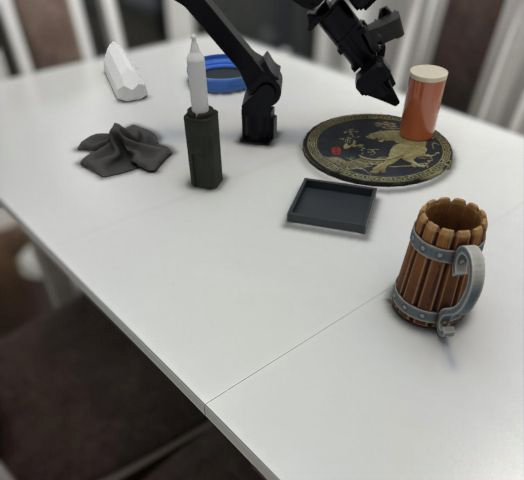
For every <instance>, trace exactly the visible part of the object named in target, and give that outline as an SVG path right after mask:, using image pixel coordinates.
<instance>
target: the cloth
mask: <svg viewBox="0 0 524 480" xmlns="http://www.w3.org/2000/svg"><path fill="white" fill-rule="evenodd" d="M77 150H79V151H81V150H88V151H92V152H90V153H89V154H87V155H85V156H84V157H83V158H82V159H81V160H80V161H79V164H81V165H83V166H86V167H87V168H89V169H90V170H92V171H94V172H96V173H97V174H98V175H100V176H101V177H109V176H114V175H120V174H124V173H128V172H131V171H133V170H135V169H138V168H142V169H144V170H146V171H149V172H150V171H156V170H157V168H158V167H159V166H160V165H161V164H162V163H163V161H164V160H166V158H167V157H168V156H170V155H171V154H172V153H173V150H172V149H171V148H170V147H168V146H167V145H164V144H161V143H159V141H158V135H157V134H156V133H154V132H153V131H151V130H149V129H147V128H144V127H142V126H138V125H136V124H131V125H129V126H127V127H124V126H123V125H121V124H120V123H118V122H114V123H113V125H112V126H111V128H110V129H109V131H108V132H105V133H104V132H101V133H100V132H99V133H94V134H91V135H89V136H88V137H86V138H85V139H83V140H81V141H80V143H79V145H78V146H77Z"/></svg>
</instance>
